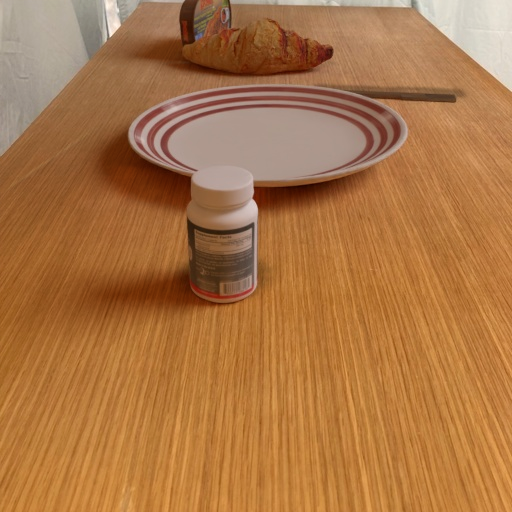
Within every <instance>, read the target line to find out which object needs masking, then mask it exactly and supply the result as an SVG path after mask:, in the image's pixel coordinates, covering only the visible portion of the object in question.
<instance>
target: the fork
mask: <svg viewBox="0 0 512 512" xmlns="http://www.w3.org/2000/svg"><path fill="white" fill-rule="evenodd" d="M342 90H343V91H347V92H352V93H355V94H359V95H362V96H365V97H368V98H371V99H392V100H393V99H395V100H397V99H398V100H401V101H423V102H443V103H444V102H446V103H457V97H456V96H455V94H452V93H428V92H426V93H424V92H399V91H379V90H378V91H376V90H354V89H353V90H351V89H342Z"/></svg>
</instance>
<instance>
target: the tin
mask: <svg viewBox="0 0 512 512" xmlns="http://www.w3.org/2000/svg"><path fill="white" fill-rule="evenodd" d="M179 10H180V11H179V16H178V22H179V31H180V38H181V45H182V48H183V47H184V45H188V44H193V43H194V42H195V41H196V40H198V39H199V38H201V37H207V36H213V35H215V34H218V33H219V32H221V31H222V30H224V29H229V28H232V23H233V22H232V20H233V16H232V15H233V12H232V3H231V0H184V1H182V5H181V7H180V9H179Z"/></svg>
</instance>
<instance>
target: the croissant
mask: <svg viewBox="0 0 512 512" xmlns="http://www.w3.org/2000/svg"><path fill="white" fill-rule="evenodd" d="M334 51H335V50H334V47H333V46H332V45H330V44H321V43H320V42H319V41H318V40H316V39H313V38H309V37H306V38H304V37H302V36H301V35H300V34H298V32H296V31H294V30H290V29H285V28H282V27H281V25H280V23H278V21H276V20H274V19H271V18H268V17H263V18H260V19H259V20H253V21H251V22H250V23H248V25H247V26H245V27H231V28H229V29H224V30H222V31H221V32H219V33H218V34H215V35H213V36H207V37H201V38H199V39H198V40H196V41H195V42H194V43H193V44H188V45H184V47H183V46H182V49H181V53H182V57H184V58H185V59H186V60H187V61H189V62H191V63H192V64H195V65H199V66H202V67H205V68H210V69H215V70H219V71H223V72H228V73H233V74H238V75H241V74H244V75H259V76H260V75H269V74H275V73H282V72H294V71H304V70H308V69H312V68H313V69H314V68H317V67H318V66H320V65H322V64H323V63H325V62H326V61H329V60H331V59H332V58H333V56H334V53H335V52H334Z"/></svg>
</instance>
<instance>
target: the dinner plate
mask: <svg viewBox="0 0 512 512" xmlns="http://www.w3.org/2000/svg"><path fill="white" fill-rule="evenodd" d="M343 90H344V89H336V88H330V87H324V86H317V85H308V84H307V85H306V84H291V83H289V84H286V83H258V84H257V83H255V84H242V85H240V84H239V85H232V86H230V85H229V86H223V87H216V88H215V87H214V88H209V89H208V88H207V89H204V90H197V91H193V92H190V93H185V94H181V95H178V96H175V97H172V98H169V99H166V100H164V101H161V102H159V103H157V104H155V105H153V106H151V107H149V108H147V109H145V110H144V111H142V112H141V113H140V114H139V115H138V116H137V117H135V118H134V120H132V122H131V123H130V125H129V127H128V129H127V142H128V145H129V146H130V148H131V149H132V150H133V151H134V152H135V153H136V154H137V155H138V156H139V157H140V158H142V159H144V160H146V161H147V162H149V163H151V164H153V165H156V166H157V167H160V168H163V169H166V170H169V171H171V172H174V173H177V174H179V175H182V176H186V177H188V178H191V177H192V175H193V174H194V173H195V172H196V171H198V170H200V169H203V168H206V167H212V166H234V167H239V168H243V169H245V170H247V171H249V172H250V173H251V174H252V176H253V188H283V187H297V186H305V185H311V184H318V183H319V184H320V183H323V182H328V181H333V180H336V179H341V178H343V177H347V176H350V175H354V174H356V173H359V172H363V171H364V170H367V169H370V168H371V167H374V166H376V165H377V164H380V163H382V162H383V161H385V160H387V158H389V157H391V156H392V155H394V154H395V153H396V152H397V151H399V149H400V148H402V146H403V145H404V143H405V142H406V140H407V138H408V134H409V129H408V125H407V123H406V121H405V120H404V118H403V117H402V116H401V115H400V113H398V112H397V111H396V110H395V109H393V108H391V106H388V105H386V104H385V103H382V102H380V101H378V100H376V99H375V98H368V97H365V96H362V95H359V94H355V93H352V92H347V91H343Z"/></svg>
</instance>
